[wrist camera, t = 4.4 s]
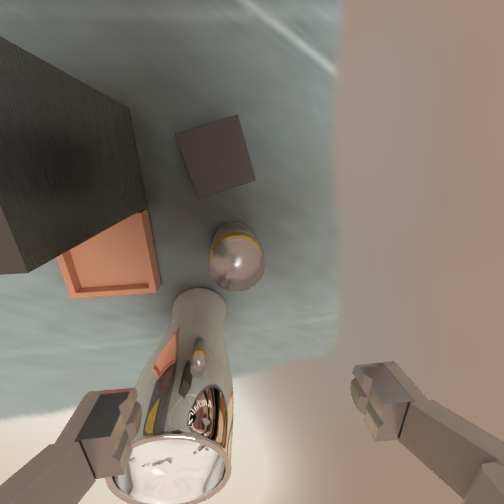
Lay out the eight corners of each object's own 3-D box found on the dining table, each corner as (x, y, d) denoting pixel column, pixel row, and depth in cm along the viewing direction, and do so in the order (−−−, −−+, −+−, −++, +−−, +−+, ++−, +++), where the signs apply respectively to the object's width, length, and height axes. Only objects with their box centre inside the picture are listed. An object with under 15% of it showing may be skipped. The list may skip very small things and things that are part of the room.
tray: (56, 212, 21) (41, 217, 19) (147, 209, 22) (140, 212, 20) (81, 289, 24) (70, 299, 22) (161, 284, 25) (156, 293, 23)
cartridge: (210, 221, 23) (204, 240, 17) (256, 219, 23) (265, 237, 18) (213, 264, 25) (210, 294, 19) (257, 261, 25) (266, 290, 19)
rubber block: (186, 140, 20) (174, 134, 16) (235, 125, 20) (237, 114, 15) (204, 190, 22) (198, 197, 17) (249, 176, 22) (255, 180, 17)
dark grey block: (-9, 101, 18) (-648, -67, 5) (127, 100, 19) (-102, -42, 6) (34, 216, 21) (-279, 304, 8) (148, 212, 22) (32, 284, 9)
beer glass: (243, 304, 27) (260, 459, 13) (207, 344, 28) (188, 522, 14) (191, 271, 25) (144, 415, 11) (156, 317, 26) (74, 494, 12)
